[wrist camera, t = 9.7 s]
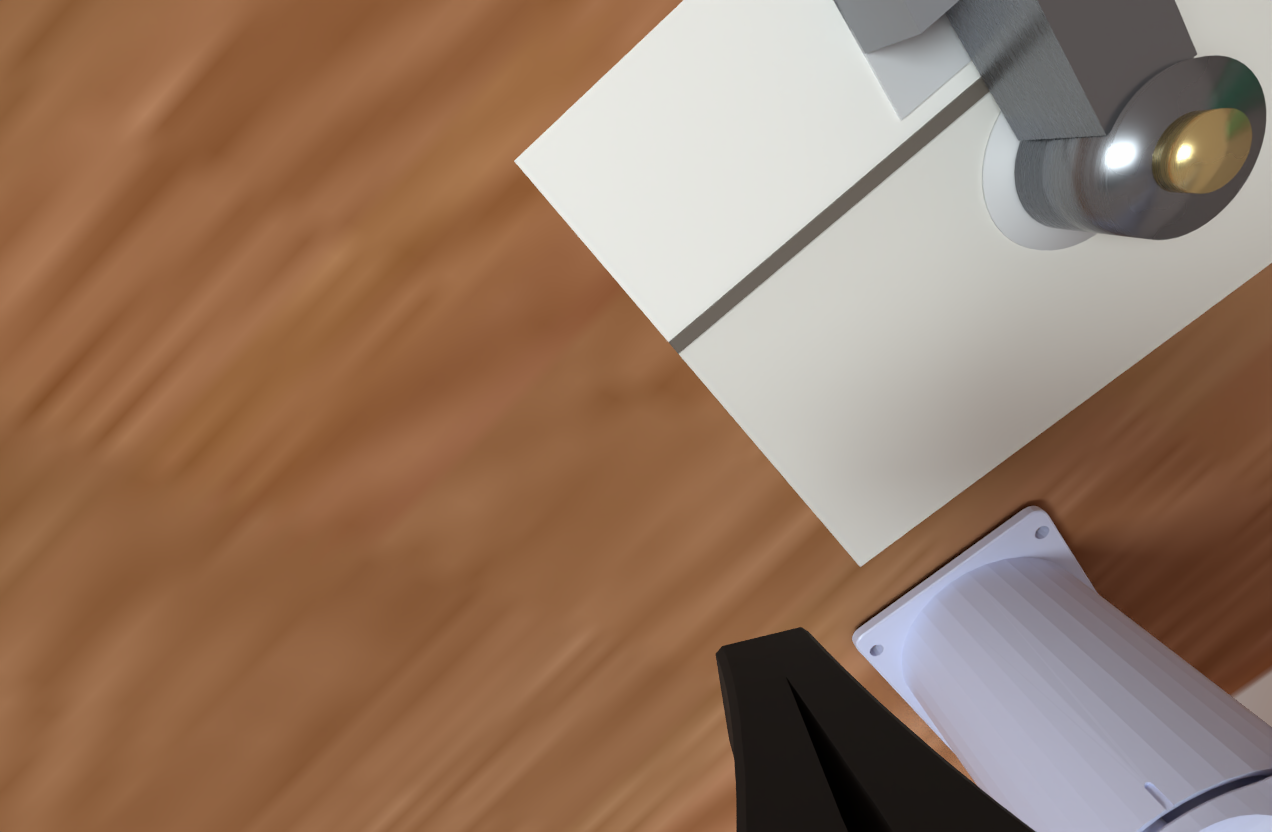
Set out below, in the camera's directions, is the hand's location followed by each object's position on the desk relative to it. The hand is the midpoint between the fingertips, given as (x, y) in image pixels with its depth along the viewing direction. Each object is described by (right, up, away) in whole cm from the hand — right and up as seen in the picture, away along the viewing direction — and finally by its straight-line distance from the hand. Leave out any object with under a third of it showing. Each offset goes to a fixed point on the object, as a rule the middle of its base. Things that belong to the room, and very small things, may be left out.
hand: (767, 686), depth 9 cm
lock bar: (+7, +13, +5) cm, 16 cm away
